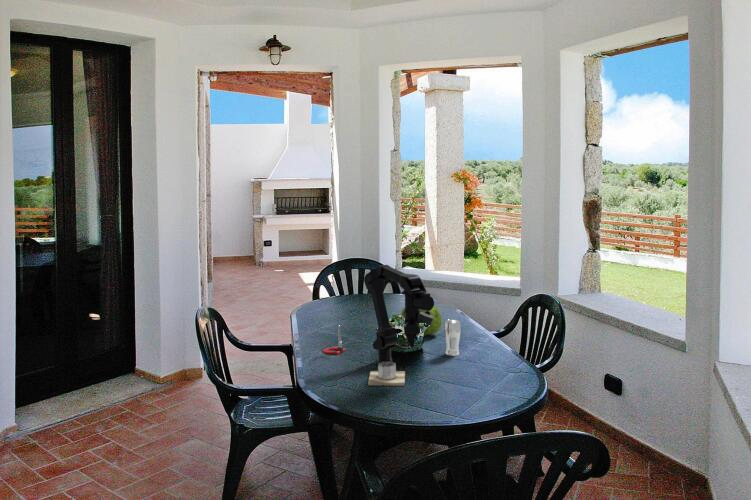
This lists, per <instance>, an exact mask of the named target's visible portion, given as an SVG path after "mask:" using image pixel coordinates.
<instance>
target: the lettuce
mask: <svg viewBox="0 0 751 500" xmlns="http://www.w3.org/2000/svg"><path fill="white" fill-rule="evenodd" d="M425 311H426V310H422V309H420V312H425ZM399 315H402V316H403V317H404V318H405V307H404V308H403V309H402V310H401V312H400V314H399ZM430 315H432V316H433V320H432V323H431V325H430V326H429V328H427V329H426V330H425V332H424V336H428V335H429V336H430V335H434V334H437V333H438V332H439V330H441V328H442V325H443V316H442V314H441V312H440V310H439V308H437V306H436V305H435V304H434V306H433V308H432V309H431V310H430ZM420 323H423V322H420ZM424 336H423V337H424Z"/></svg>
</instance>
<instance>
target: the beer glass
mask: <svg viewBox="0 0 751 500" xmlns="http://www.w3.org/2000/svg"><path fill="white" fill-rule="evenodd" d="M444 338H445V342H446V343H445V344H446V348H445V349H446V350H445V355H446V356H451V357H457V356H459V355H460V350H459V349H460V348H459V345H460V344H459V343H460V339H461V321H460V320H458V319H446V320H445V321H444Z"/></svg>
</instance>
